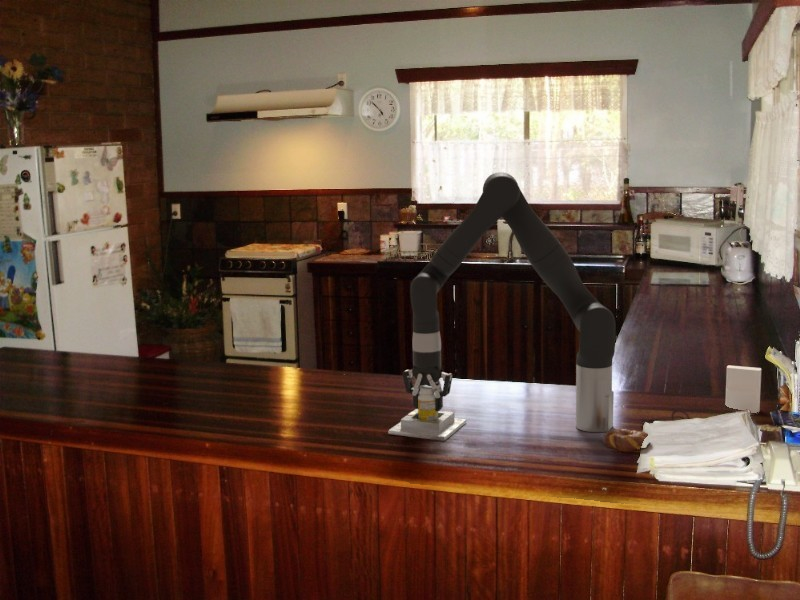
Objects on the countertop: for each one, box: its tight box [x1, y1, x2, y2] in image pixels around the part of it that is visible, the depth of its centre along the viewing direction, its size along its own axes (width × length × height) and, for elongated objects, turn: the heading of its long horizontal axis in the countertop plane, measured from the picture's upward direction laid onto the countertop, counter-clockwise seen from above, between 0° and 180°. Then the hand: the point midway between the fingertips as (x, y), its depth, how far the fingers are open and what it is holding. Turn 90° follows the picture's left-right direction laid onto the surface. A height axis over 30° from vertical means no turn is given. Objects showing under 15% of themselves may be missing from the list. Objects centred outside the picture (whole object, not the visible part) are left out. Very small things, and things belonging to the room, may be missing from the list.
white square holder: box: [388, 408, 467, 442], centre depth 240 cm, size 16×16×4 cm
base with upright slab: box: [724, 364, 762, 414], centre depth 249 cm, size 9×9×12 cm
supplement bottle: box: [418, 385, 438, 421], centre depth 240 cm, size 5×5×10 cm
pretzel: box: [602, 428, 649, 452], centre depth 224 cm, size 12×11×4 cm
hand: (428, 409), depth 240 cm, fingers closed on supplement bottle, 5 cm apart
